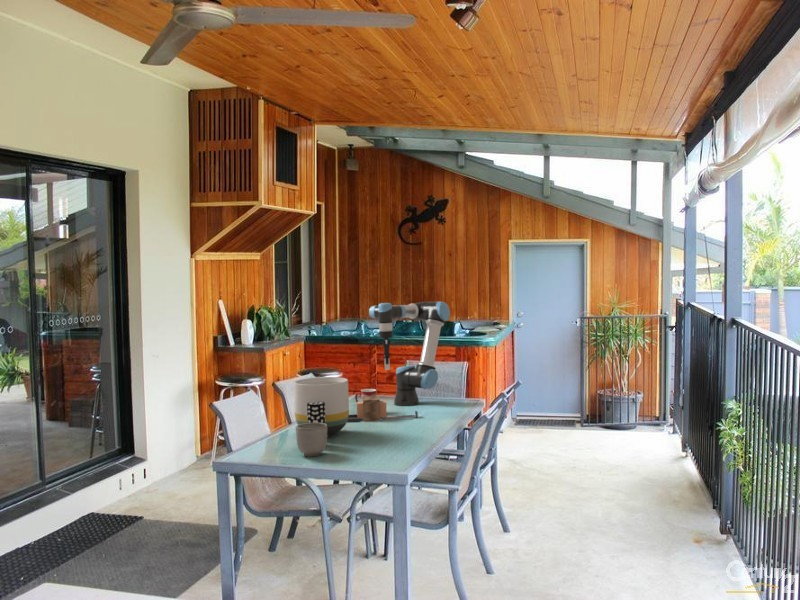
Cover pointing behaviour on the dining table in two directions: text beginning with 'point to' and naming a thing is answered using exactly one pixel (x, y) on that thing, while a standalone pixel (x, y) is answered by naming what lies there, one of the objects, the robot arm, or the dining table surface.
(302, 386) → the planter
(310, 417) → the white-spotted black cylinder
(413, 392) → the robot arm
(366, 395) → the mug
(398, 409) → the dining table surface
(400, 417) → the track
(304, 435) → the planter
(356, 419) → the dark grey tray
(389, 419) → the pad
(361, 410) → the block
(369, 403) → the open box
